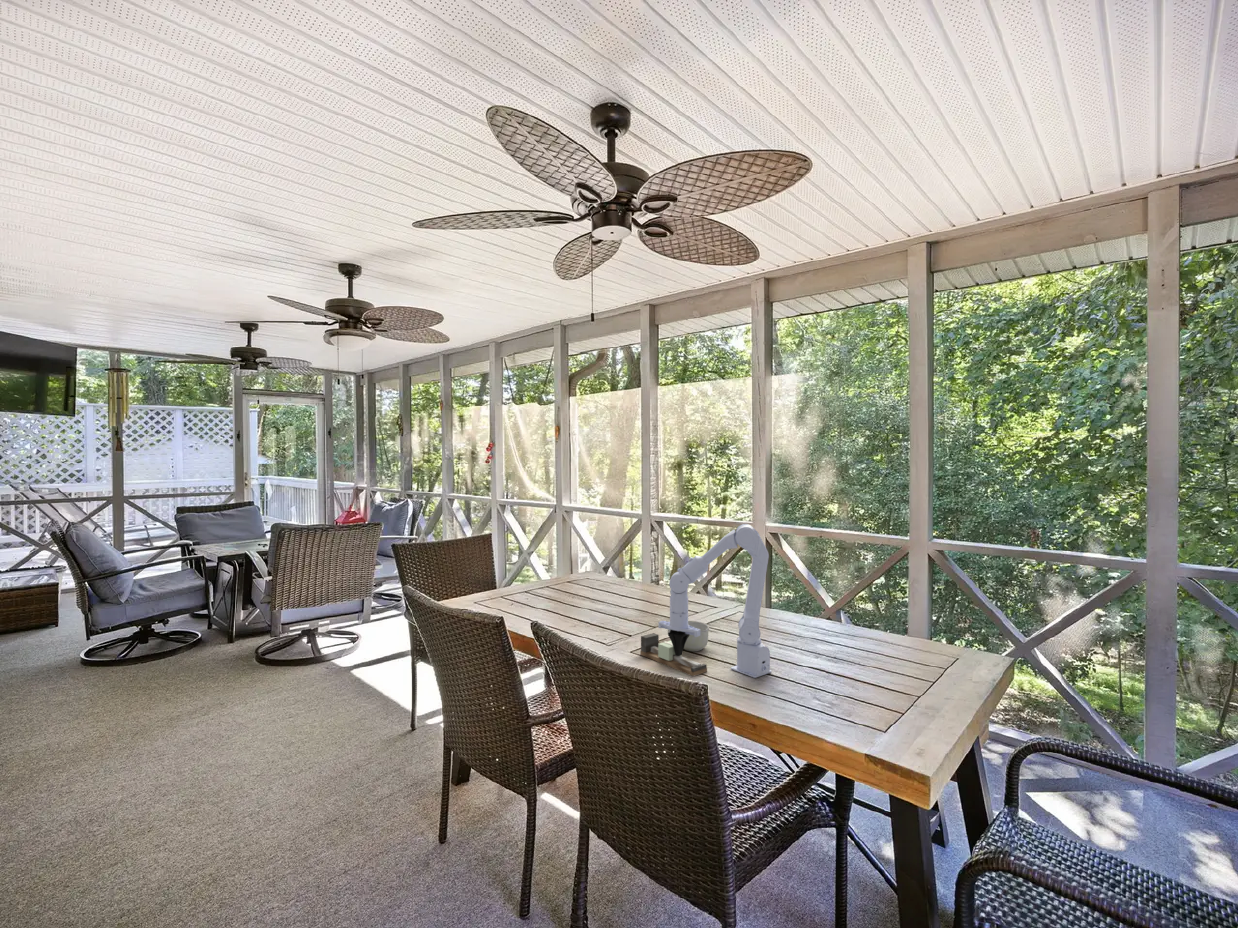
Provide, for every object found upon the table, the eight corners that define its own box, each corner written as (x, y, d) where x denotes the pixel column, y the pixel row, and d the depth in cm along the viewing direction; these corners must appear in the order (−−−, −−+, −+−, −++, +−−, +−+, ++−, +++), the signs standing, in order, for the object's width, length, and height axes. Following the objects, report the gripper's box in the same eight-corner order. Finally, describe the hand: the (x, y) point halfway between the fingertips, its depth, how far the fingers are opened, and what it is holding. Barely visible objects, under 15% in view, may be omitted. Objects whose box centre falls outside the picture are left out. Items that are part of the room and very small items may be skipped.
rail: (707, 671, 175) (707, 651, 175) (692, 676, 171) (693, 655, 171) (654, 650, 194) (654, 632, 194) (640, 654, 190) (640, 636, 190)
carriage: (681, 657, 183) (681, 643, 183) (669, 660, 180) (669, 647, 180) (670, 653, 187) (670, 639, 187) (658, 656, 184) (658, 643, 184)
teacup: (708, 643, 201) (708, 621, 201) (709, 654, 190) (709, 630, 190) (667, 642, 203) (667, 619, 203) (667, 652, 192) (667, 628, 192)
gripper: (705, 612, 178) (705, 656, 178) (667, 605, 188) (667, 646, 188) (693, 617, 173) (692, 662, 173) (654, 609, 182) (654, 652, 182)
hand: (678, 654), depth 180 cm, fingers closed
